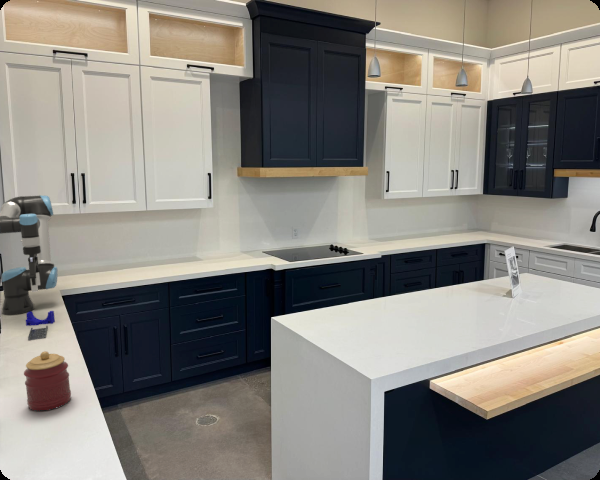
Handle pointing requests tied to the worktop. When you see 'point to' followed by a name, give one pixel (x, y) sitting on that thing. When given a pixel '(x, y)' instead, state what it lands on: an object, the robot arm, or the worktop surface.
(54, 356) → the canister
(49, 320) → the cable clip
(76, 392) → the worktop surface
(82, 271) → the worktop surface
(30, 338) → the rail
